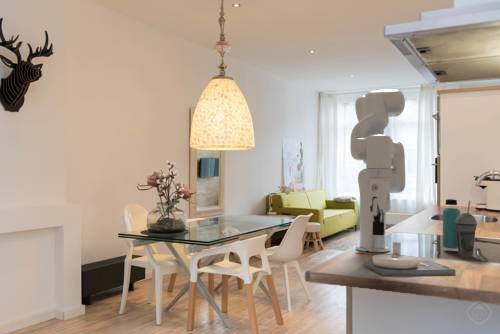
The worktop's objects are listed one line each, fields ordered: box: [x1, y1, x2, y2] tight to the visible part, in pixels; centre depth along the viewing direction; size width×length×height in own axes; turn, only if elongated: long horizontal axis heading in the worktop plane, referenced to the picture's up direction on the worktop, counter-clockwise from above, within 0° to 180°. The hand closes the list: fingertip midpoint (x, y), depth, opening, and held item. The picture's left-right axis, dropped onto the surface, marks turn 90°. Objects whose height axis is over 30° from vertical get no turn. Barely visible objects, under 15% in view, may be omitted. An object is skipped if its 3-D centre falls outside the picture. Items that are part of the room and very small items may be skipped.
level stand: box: [363, 259, 456, 277], centre depth 139 cm, size 15×22×2 cm
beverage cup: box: [455, 200, 478, 258], centre depth 166 cm, size 7×7×20 cm
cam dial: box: [372, 241, 419, 269], centre depth 139 cm, size 13×13×6 cm
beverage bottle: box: [441, 198, 461, 250], centre depth 177 cm, size 6×7×20 cm
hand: (378, 234), depth 141 cm, fingers closed
